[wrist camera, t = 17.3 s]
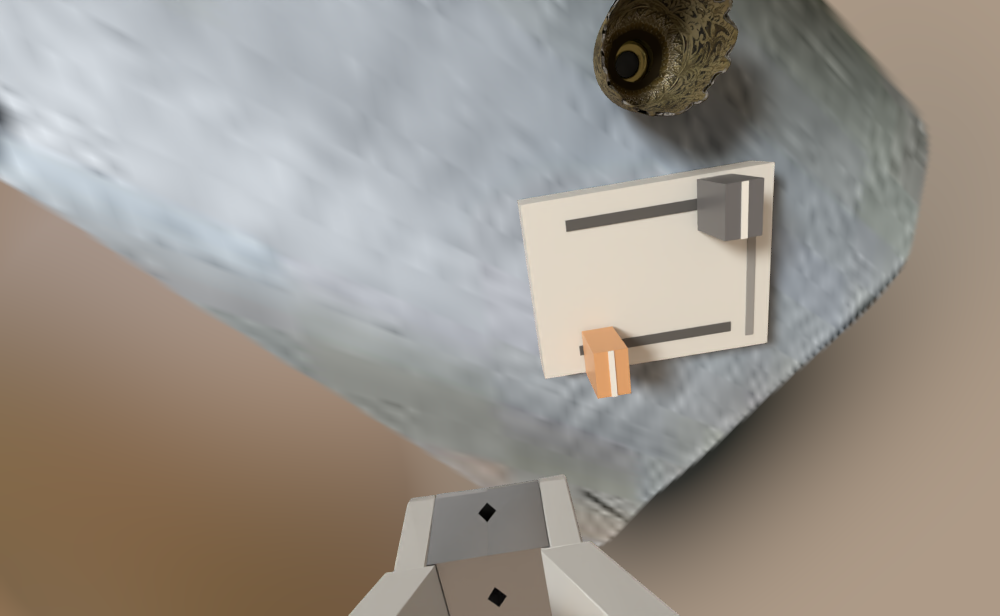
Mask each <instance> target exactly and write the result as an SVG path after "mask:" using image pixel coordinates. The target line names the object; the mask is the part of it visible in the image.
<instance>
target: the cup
mask: <svg viewBox="0 0 1000 616" xmlns="http://www.w3.org/2000/svg"><path fill="white" fill-rule="evenodd" d="M732 3H733V1H732V0H616V1H615V2H614V4H613V5H612V7H611V8H610V10H609V12H608V14H607V16H606V18H605V20H604V22H603V24H602V26H601V28H600V31H599V33H598V36H597V39H596V43H595V48H594V57H593V63H594V71H595V75H596V79H597V81H598V84H599V86H600V88H601V90H602V91H603V92H604V94H605V95H606V96H607V97H608V98H609V99H610V100H611V101H612V102H613V103H615V104H616V105H618V106H620V107H622V108H624V109H627V110H629V111H633V112H637V113H642V114H645V115H648V116H672V115H679V114H682V113H684V112H685V111H687V110H688V109H689V108H690V107H692V106H693V105H697V104H700V103H702V102H703V101H705V100H706V99H707V98H708V96H709V95H708V91H707V89H708V88H710V87H711V86H712V85H713V84H714V80H715V79H716V77H717V76H718V75H720V74H721V73H725V72H726V71H727V69H728V68H729V66H730V64H731V59H730V58H729V57H728V56H729V54H730V52H731V51H732V50H733V48H734V46H735V43H736V40H737V35H738V29H737V26H736V25H735V23H734V22H733V21H732V20H731V19H730V17H729V16H728V12H729V11H730V10H731V7H732ZM729 13H730V12H729ZM624 52H632V53H634V54H635V55H636V56H637V58H638V62H639V65H638V69H637V71H636V73H635V74H634V75H632V76H631V77H627V78H625V77H622V76H620V75H619V74H618V72H617V70H616V60H617V58H618V57H619V56H620V55H621V54H622V53H624Z"/></svg>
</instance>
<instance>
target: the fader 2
mask: <svg viewBox="0 0 1000 616" xmlns="http://www.w3.org/2000/svg"><path fill="white" fill-rule="evenodd" d="M763 203H764V178H763V177H755V176H747V175H739V174H732V173H731V174H725V175H719V176H713V177H707V178H701V179H697V224H698V231H701V232H703V233H706V234H708V235H711V236H713V237H715V238H718V239H720V240H723V241H731V240H737V239H746V238H749V237H755V236H761V235H762V232H763Z"/></svg>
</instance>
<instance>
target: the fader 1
mask: <svg viewBox="0 0 1000 616" xmlns="http://www.w3.org/2000/svg"><path fill="white" fill-rule="evenodd" d="M582 340H583V350H584V359H585V368H586V373H587V376H588V378H589V380H590V382H591V384H592V387H593V389H594V391H595V393H596V395H597V398H604V397H611V396H612V397H615V396H618V395H623V394H629V393H631V385H630V371H629V357H628V348H627V346H626V345H625V343H624V342H623V341H622V339H621V338H620V336H619V335H618V334H617V332H616V331H615V329H614V328H613V327H612V326H611V327H605V328H599V329H593V330H587V331H582Z"/></svg>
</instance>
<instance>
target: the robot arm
mask: <svg viewBox="0 0 1000 616" xmlns="http://www.w3.org/2000/svg"><path fill="white" fill-rule="evenodd" d="M348 616H680V615H678V614H677V613H676V612H675V611H674V610H672V609H671V608H670V607H669V606H668V605H667V604H665V603H664V602H663V601H662V600H661V599H659V598H658V597H657V596H656V595H655V594H653V593H652V592H651V591H650V590H649V589H647V588H646V587H645V586H644V585H643V584H641V583H640V582H639V581H638V580H637V579H635V578H634V577H633V576H632V575H631V574H630V573H628V572H627V571H626V570H625V569H623V568H622V567H621V566H620V565H618V563H616V562H615V561H614V560H613V559H612V558H610V557H609V556H608V555H607V554H606V553H604V552H603V551H602V550H601V549H600V548H599V547H597V546H596V545H595V544H594V543H593V542H591V541H589V542H583V541H582V537H581V534H580V530H579V526H578V522H577V518H576V514H575V510H574V506H573V502H572V498H571V494H570V491H569V487H568V483H567V479H566V477H565V476H564V474H563V475H557V476H552V477H546V478H540V479H539V483H538V480H532V481H526V482H520V483H514V484H508V485H502V486H496V487H489V488H482V489H474V490H467V491H459V492H452V493H444V494H438V495H432V496H425V497H418V498H411V500H410V501H409V503H408V505H407V509H406V514H405V519H404V524H403V529H402V534H401V539H400V544H399V548H398V554H397V559H396V563H395V569H394V572H389V573H385V574H384V575H383V577H382V578H381V579H380V580H379V581H378V582H377V583H376V585H375V586H374V587H373V588H372V589H371V590H370V591H369V593H368V594H367V595H366V596H365V597H364V598H363V600H362V601H361V602H360V603H359V604H358V605H357V606H356V607H355V609H354V610H353V611H352V612H351V613H350V614H349V615H348Z"/></svg>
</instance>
